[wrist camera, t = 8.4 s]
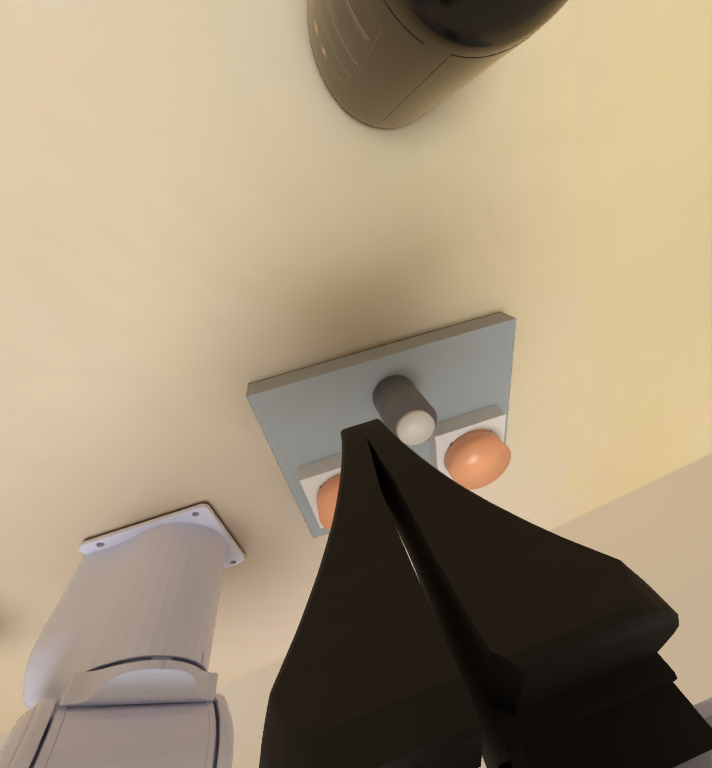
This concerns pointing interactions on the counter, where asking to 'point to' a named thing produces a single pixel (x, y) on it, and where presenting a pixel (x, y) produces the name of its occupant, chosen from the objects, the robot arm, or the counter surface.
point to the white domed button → (404, 409)
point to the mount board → (355, 406)
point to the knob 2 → (477, 459)
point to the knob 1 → (327, 501)
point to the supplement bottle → (413, 49)
